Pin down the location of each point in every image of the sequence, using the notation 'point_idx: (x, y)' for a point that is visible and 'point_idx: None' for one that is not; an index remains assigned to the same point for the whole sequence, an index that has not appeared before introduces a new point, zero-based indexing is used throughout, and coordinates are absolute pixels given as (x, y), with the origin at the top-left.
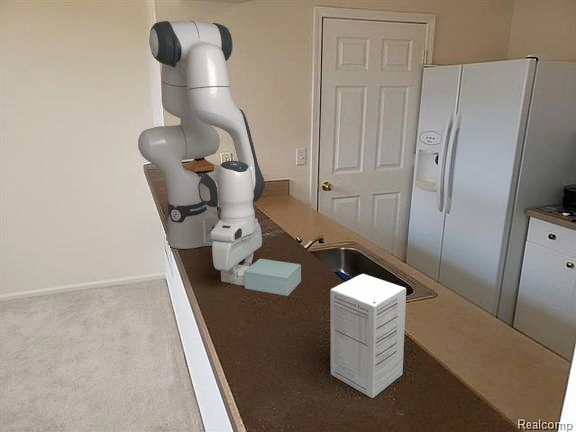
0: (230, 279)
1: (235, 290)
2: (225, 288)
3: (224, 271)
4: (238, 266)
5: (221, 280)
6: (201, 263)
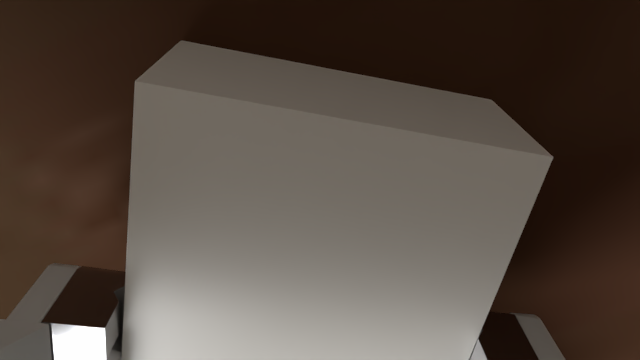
0: (55, 267)
1: (15, 297)
2: (7, 179)
3: (156, 152)
4: (421, 287)
5: (176, 46)
6: None
